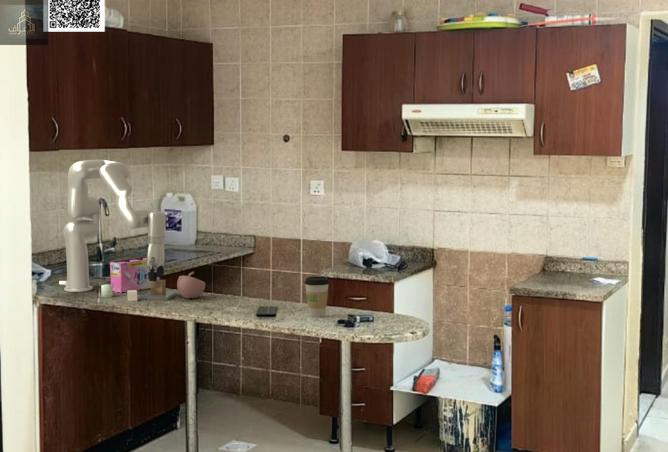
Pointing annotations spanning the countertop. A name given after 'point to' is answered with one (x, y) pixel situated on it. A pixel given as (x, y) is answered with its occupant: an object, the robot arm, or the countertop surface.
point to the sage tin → (107, 290)
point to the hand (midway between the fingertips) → (156, 279)
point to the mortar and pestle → (190, 286)
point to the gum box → (130, 274)
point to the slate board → (158, 296)
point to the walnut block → (158, 287)
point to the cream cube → (132, 295)
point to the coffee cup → (317, 295)
